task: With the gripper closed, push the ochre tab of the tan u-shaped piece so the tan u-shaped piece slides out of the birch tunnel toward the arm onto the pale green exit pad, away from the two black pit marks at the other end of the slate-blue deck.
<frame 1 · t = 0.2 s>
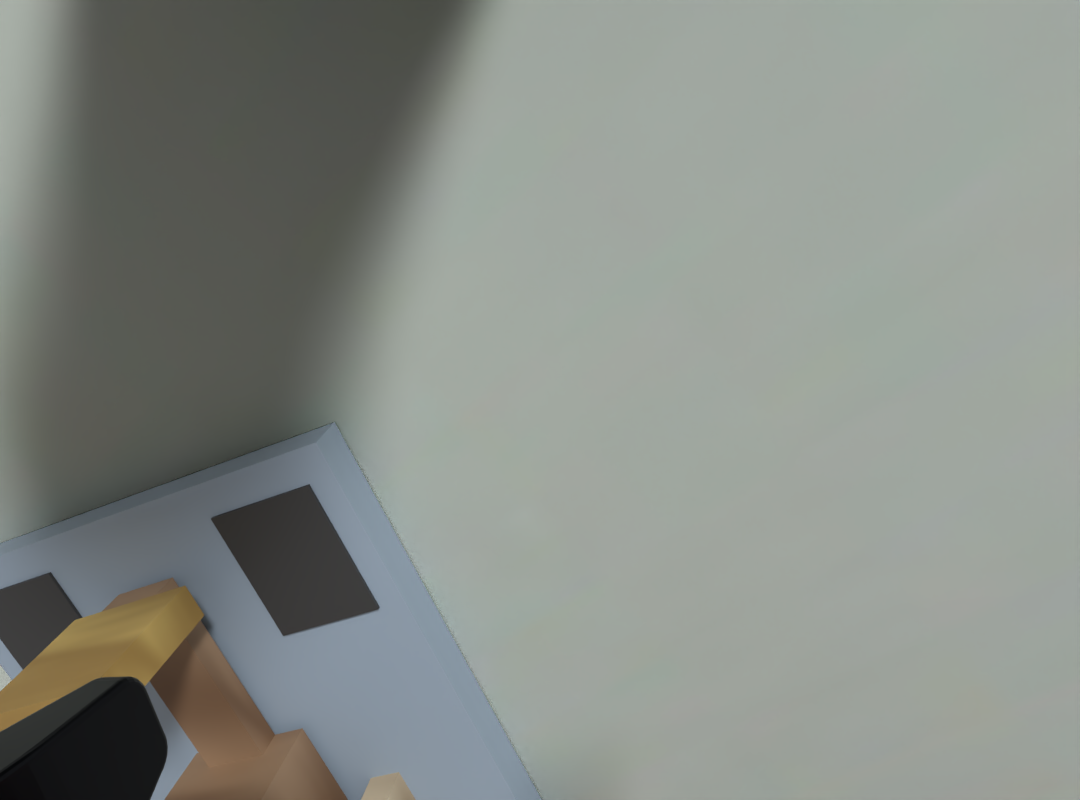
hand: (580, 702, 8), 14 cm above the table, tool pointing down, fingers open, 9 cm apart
tan u-shaped piece: (190, 780, 25), point 4 cm above the table, slide at 0.0 cm
tunnel: (330, 798, 30), resting on deck
deck: (301, 753, 29), on the table
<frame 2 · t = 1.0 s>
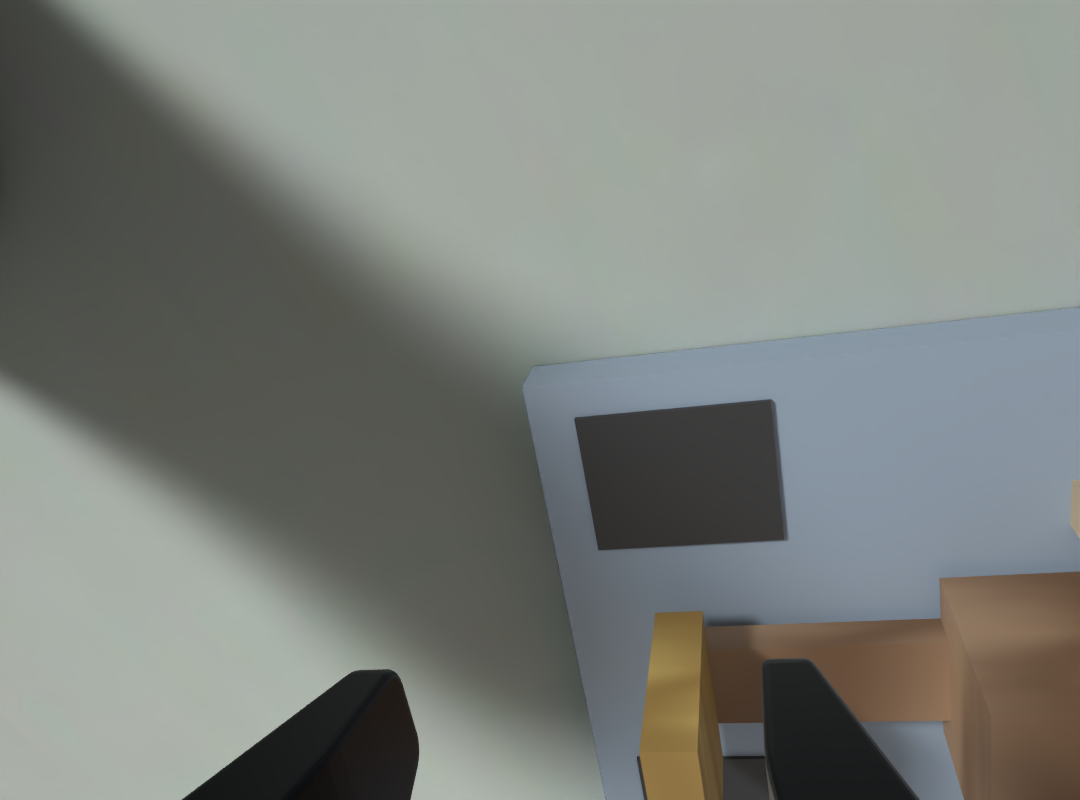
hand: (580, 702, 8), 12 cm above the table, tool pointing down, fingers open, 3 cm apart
tan u-shaped piece: (918, 739, 17), point 4 cm above the table, slide at 0.0 cm
deck: (1023, 611, 20), on the table
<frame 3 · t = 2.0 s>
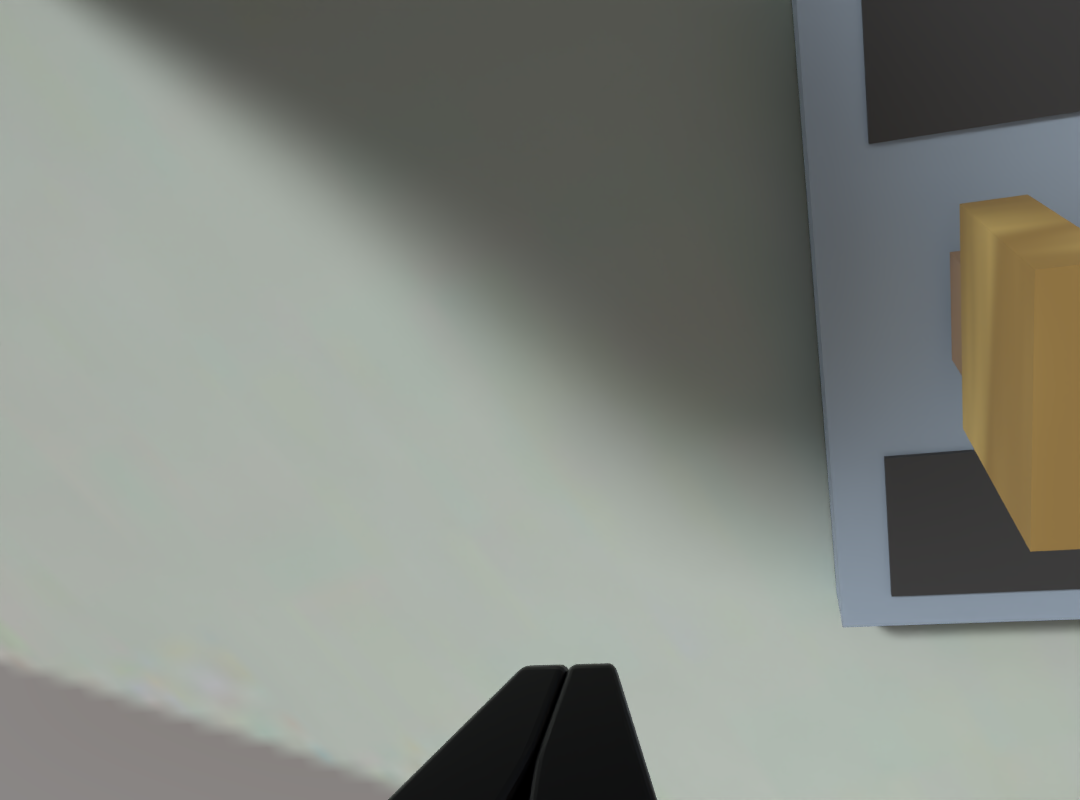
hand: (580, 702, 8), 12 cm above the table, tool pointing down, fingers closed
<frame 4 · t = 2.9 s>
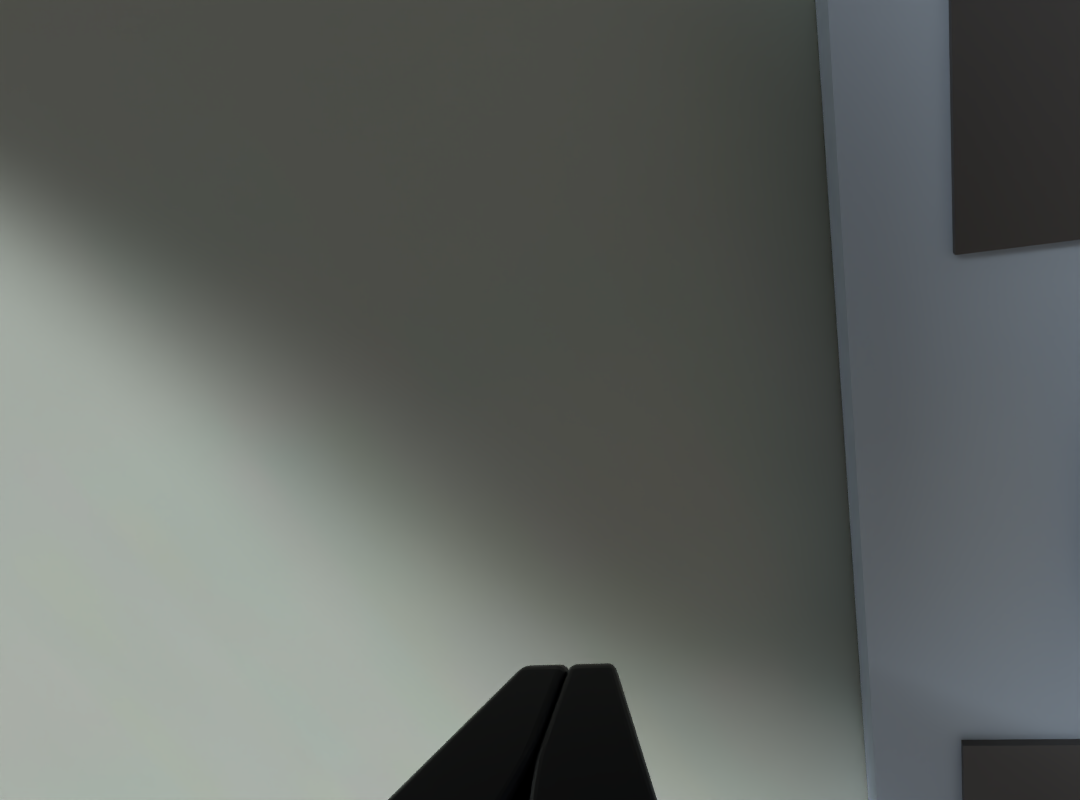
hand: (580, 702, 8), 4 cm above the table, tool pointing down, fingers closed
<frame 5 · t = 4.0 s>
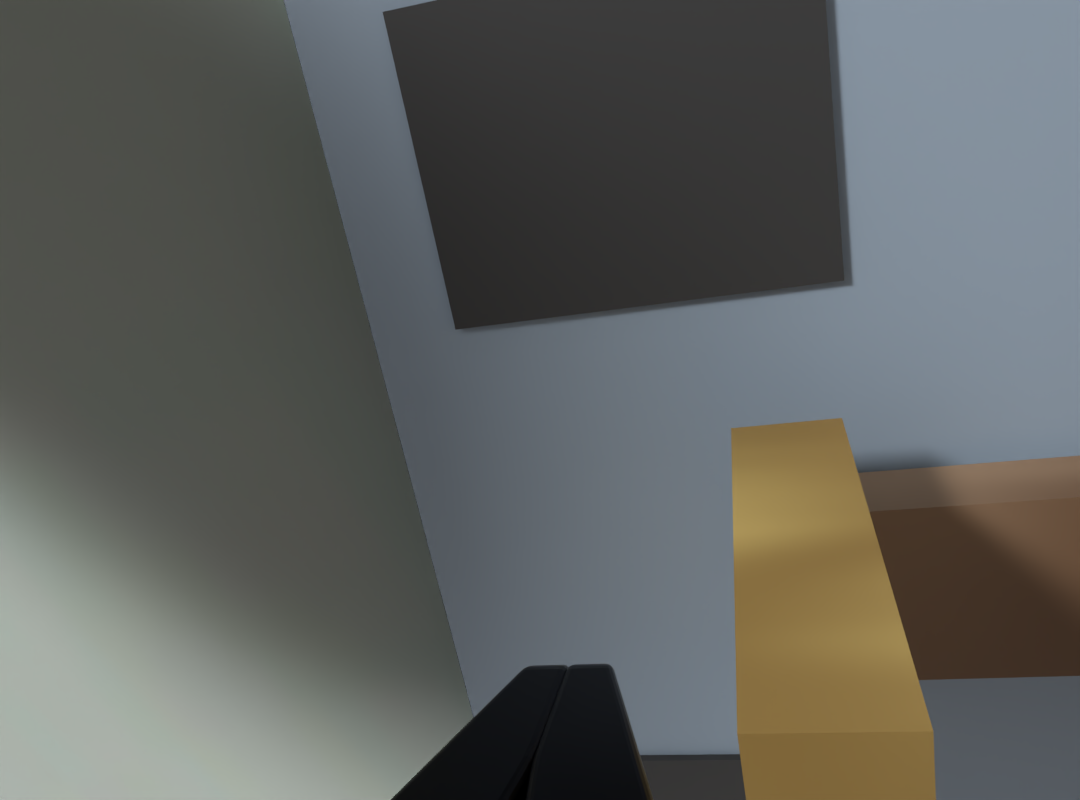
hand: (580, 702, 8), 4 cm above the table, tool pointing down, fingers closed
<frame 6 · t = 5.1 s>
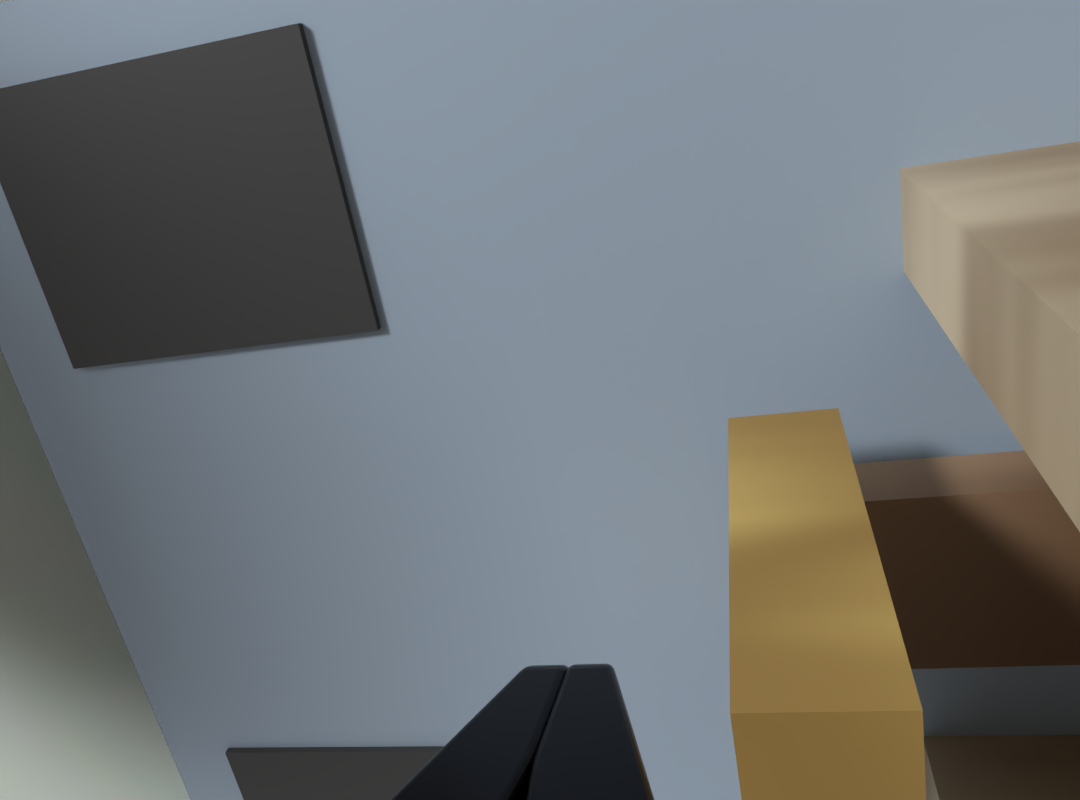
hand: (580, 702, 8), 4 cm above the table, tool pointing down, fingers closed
tunnel: (1031, 466, 11), resting on deck
deck: (852, 480, 11), on the table
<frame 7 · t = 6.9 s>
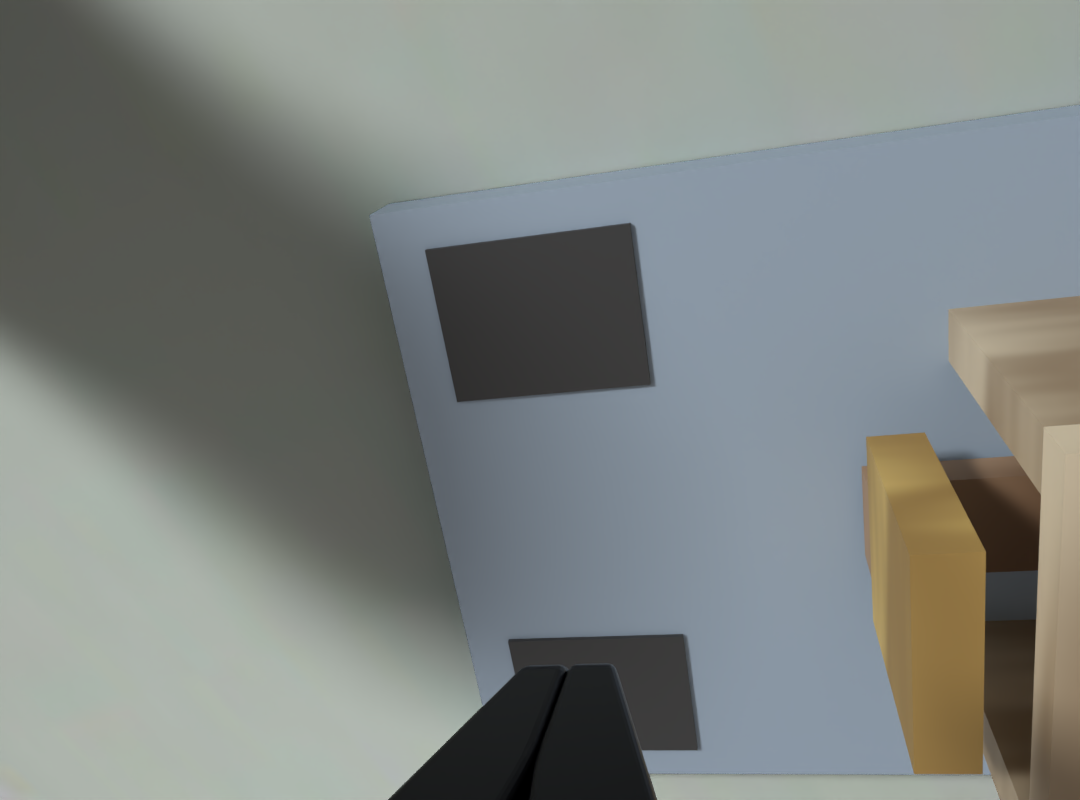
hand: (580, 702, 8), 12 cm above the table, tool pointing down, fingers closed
tunnel: (1013, 466, 19), resting on deck
deck: (909, 472, 19), on the table
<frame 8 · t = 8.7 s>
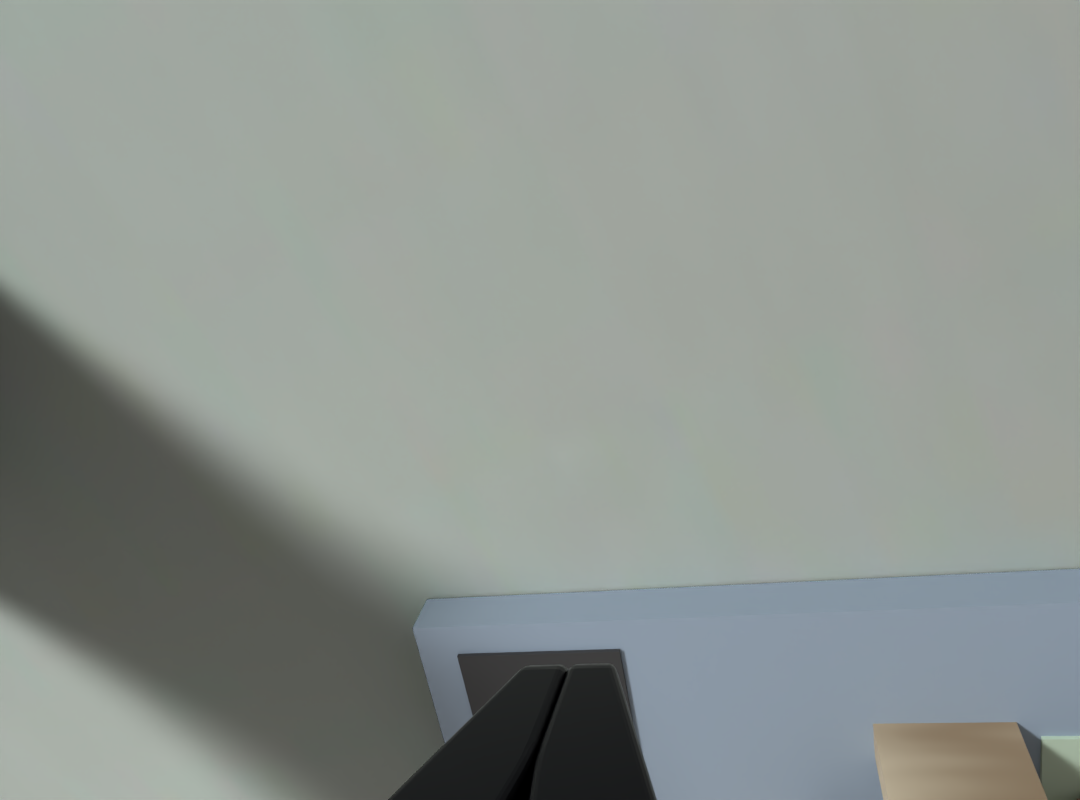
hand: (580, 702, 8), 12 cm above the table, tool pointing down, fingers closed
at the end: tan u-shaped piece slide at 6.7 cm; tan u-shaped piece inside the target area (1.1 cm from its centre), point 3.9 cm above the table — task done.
